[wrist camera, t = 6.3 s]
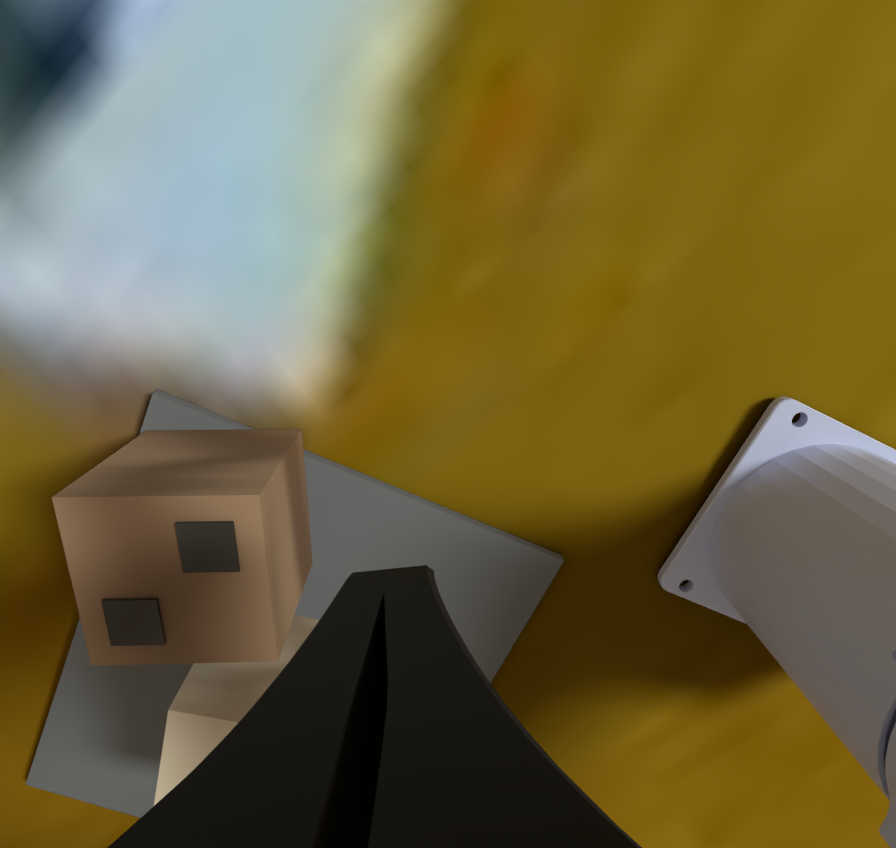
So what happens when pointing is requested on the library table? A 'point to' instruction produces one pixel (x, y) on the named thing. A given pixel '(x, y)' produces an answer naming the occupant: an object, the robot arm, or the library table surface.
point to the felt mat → (334, 559)
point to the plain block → (216, 706)
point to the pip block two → (189, 546)
